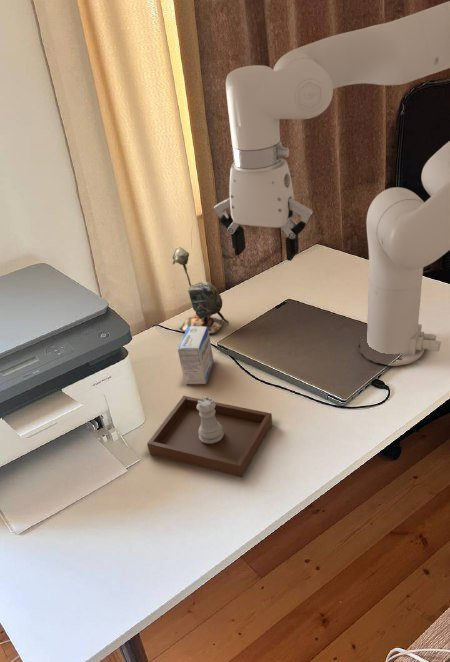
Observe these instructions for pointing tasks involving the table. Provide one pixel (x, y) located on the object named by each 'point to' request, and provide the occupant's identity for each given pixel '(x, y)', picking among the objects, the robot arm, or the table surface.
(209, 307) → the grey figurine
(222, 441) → the tray
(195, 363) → the medicine box
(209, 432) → the rook chess piece
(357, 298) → the table surface
